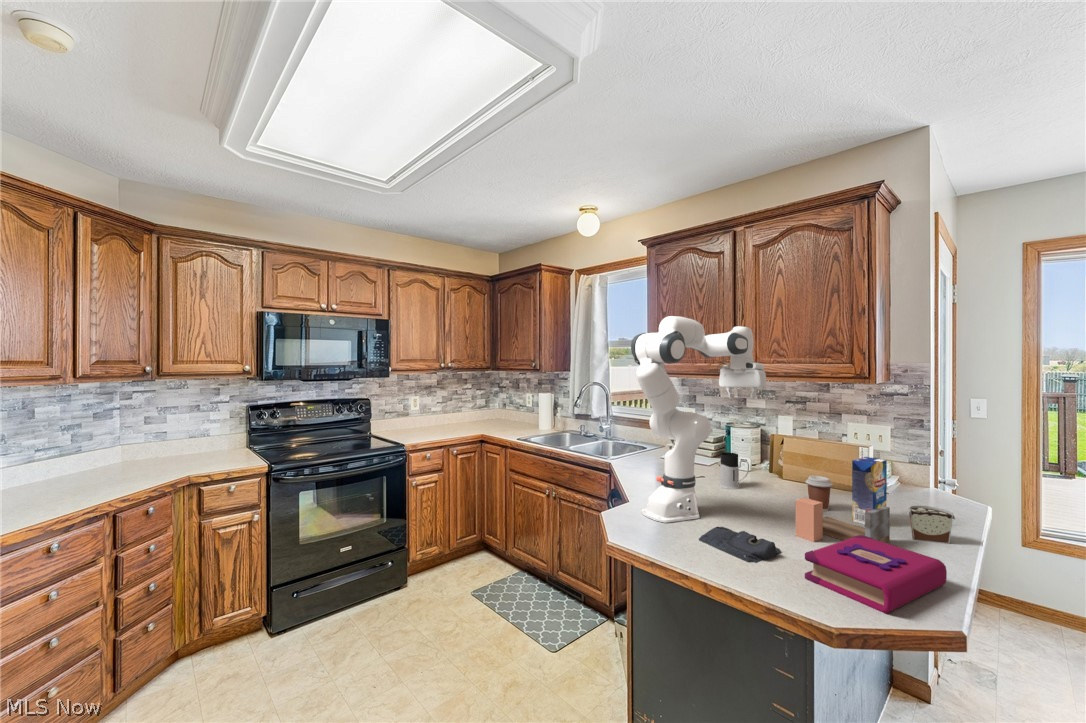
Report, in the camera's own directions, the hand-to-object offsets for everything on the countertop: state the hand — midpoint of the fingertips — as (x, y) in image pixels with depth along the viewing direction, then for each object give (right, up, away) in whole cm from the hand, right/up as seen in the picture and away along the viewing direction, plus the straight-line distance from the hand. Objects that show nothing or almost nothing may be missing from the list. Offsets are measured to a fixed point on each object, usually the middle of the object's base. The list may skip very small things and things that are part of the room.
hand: (741, 398), depth 192 cm
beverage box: (+36, -43, -25) cm, 61 cm away
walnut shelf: (+19, -43, -37) cm, 60 cm away
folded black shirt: (-21, -44, -46) cm, 67 cm away
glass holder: (+5, -42, +17) cm, 46 cm away
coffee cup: (+26, -43, -11) cm, 51 cm away
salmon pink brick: (+6, -43, -39) cm, 59 cm away
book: (+5, -44, -70) cm, 82 cm away
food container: (+43, -43, -41) cm, 73 cm away
